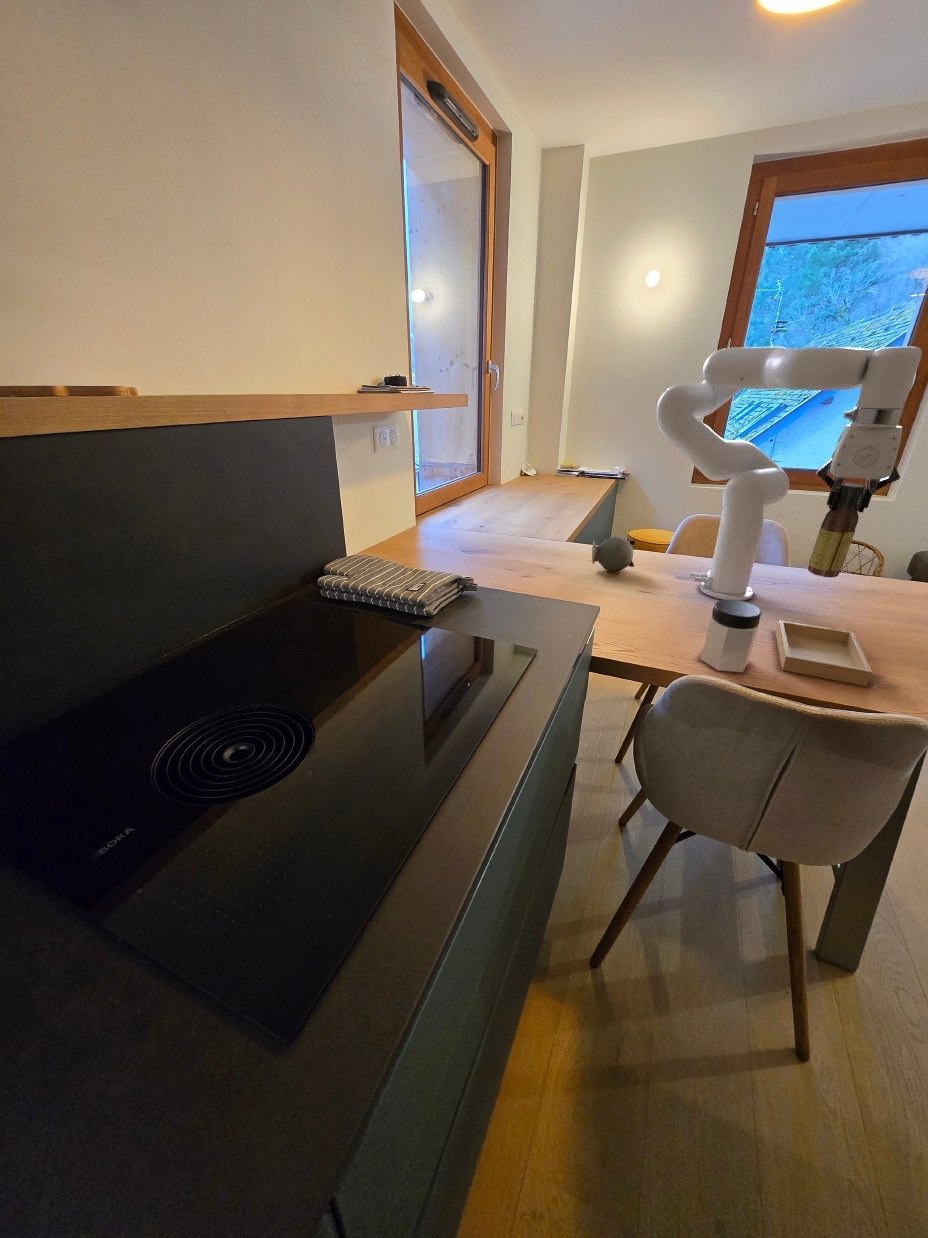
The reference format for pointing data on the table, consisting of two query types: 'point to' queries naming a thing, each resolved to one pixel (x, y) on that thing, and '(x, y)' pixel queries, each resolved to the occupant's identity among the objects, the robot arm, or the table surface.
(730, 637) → the jar
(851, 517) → the sauce bottle
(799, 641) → the tray
